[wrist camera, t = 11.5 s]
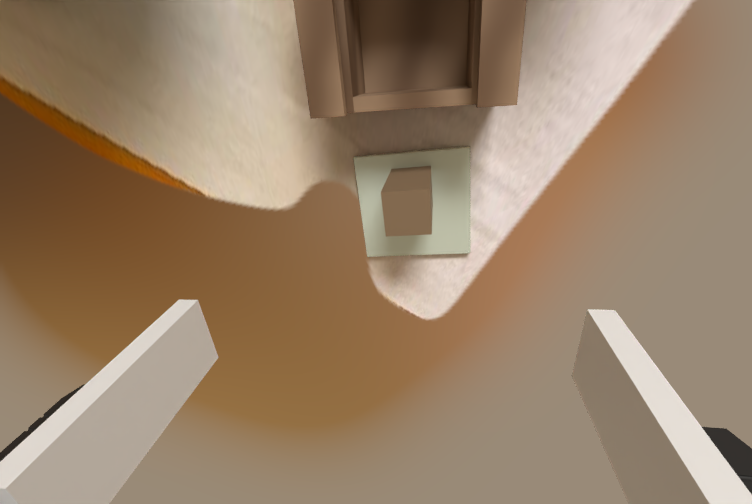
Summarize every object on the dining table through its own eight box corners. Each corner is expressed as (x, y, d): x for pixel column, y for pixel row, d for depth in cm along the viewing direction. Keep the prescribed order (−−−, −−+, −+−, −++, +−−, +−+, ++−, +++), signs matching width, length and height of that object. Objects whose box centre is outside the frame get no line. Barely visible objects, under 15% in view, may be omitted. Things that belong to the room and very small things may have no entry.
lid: (368, 252, 37) (353, 294, 30) (355, 155, 33) (333, 178, 26) (469, 248, 35) (477, 292, 28) (469, 145, 31) (478, 167, 24)
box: (340, 107, 31) (310, 118, 24) (320, -73, 26) (274, -129, 18) (496, 96, 29) (516, 104, 21) (510, -103, 23) (542, -180, 16)
